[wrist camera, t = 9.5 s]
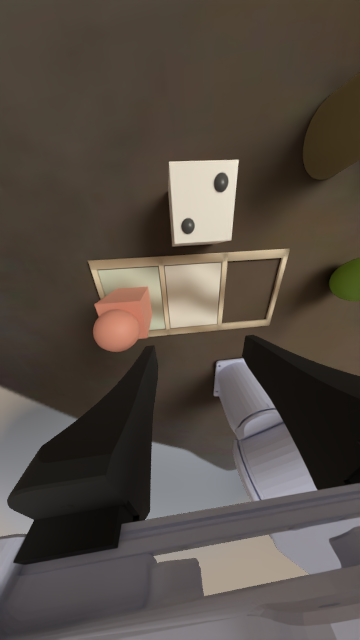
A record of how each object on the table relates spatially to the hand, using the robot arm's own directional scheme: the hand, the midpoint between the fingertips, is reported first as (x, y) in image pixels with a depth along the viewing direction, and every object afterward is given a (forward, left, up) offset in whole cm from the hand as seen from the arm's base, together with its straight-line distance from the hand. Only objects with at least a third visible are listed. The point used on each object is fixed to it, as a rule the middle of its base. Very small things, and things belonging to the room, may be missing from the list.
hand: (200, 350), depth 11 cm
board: (+1, -1, -10) cm, 10 cm away
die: (+10, -1, -10) cm, 14 cm away
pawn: (+1, +7, -10) cm, 12 cm away
